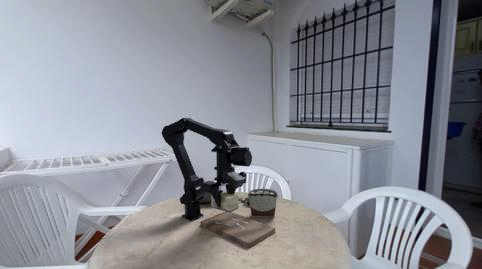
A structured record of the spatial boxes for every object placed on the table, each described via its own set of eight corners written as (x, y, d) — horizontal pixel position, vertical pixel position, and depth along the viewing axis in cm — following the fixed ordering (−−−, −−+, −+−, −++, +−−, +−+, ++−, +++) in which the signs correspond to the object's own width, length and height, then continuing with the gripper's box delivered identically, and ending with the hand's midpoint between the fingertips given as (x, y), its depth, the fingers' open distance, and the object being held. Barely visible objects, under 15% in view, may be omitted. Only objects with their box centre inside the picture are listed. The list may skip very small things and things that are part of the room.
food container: (277, 211, 102) (277, 188, 102) (278, 217, 96) (278, 192, 96) (248, 210, 103) (248, 187, 103) (247, 216, 97) (247, 192, 97)
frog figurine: (264, 204, 112) (264, 196, 112) (244, 210, 105) (244, 202, 105) (249, 198, 121) (248, 190, 121) (229, 203, 114) (229, 195, 114)
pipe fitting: (222, 198, 118) (219, 178, 117) (221, 205, 110) (218, 184, 109) (198, 201, 119) (195, 181, 117) (195, 208, 111) (192, 187, 109)
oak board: (200, 225, 90) (200, 221, 89) (227, 214, 100) (227, 210, 100) (249, 248, 73) (249, 243, 73) (275, 232, 84) (275, 227, 84)
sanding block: (211, 207, 91) (211, 194, 91) (220, 203, 95) (219, 191, 95) (229, 212, 86) (229, 199, 85) (238, 208, 90) (238, 195, 89)
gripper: (220, 171, 77) (220, 218, 78) (256, 163, 91) (256, 203, 92) (198, 166, 84) (199, 210, 85) (235, 160, 98) (235, 197, 99)
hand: (224, 205), depth 90 cm, fingers closed on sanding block, 5 cm apart
